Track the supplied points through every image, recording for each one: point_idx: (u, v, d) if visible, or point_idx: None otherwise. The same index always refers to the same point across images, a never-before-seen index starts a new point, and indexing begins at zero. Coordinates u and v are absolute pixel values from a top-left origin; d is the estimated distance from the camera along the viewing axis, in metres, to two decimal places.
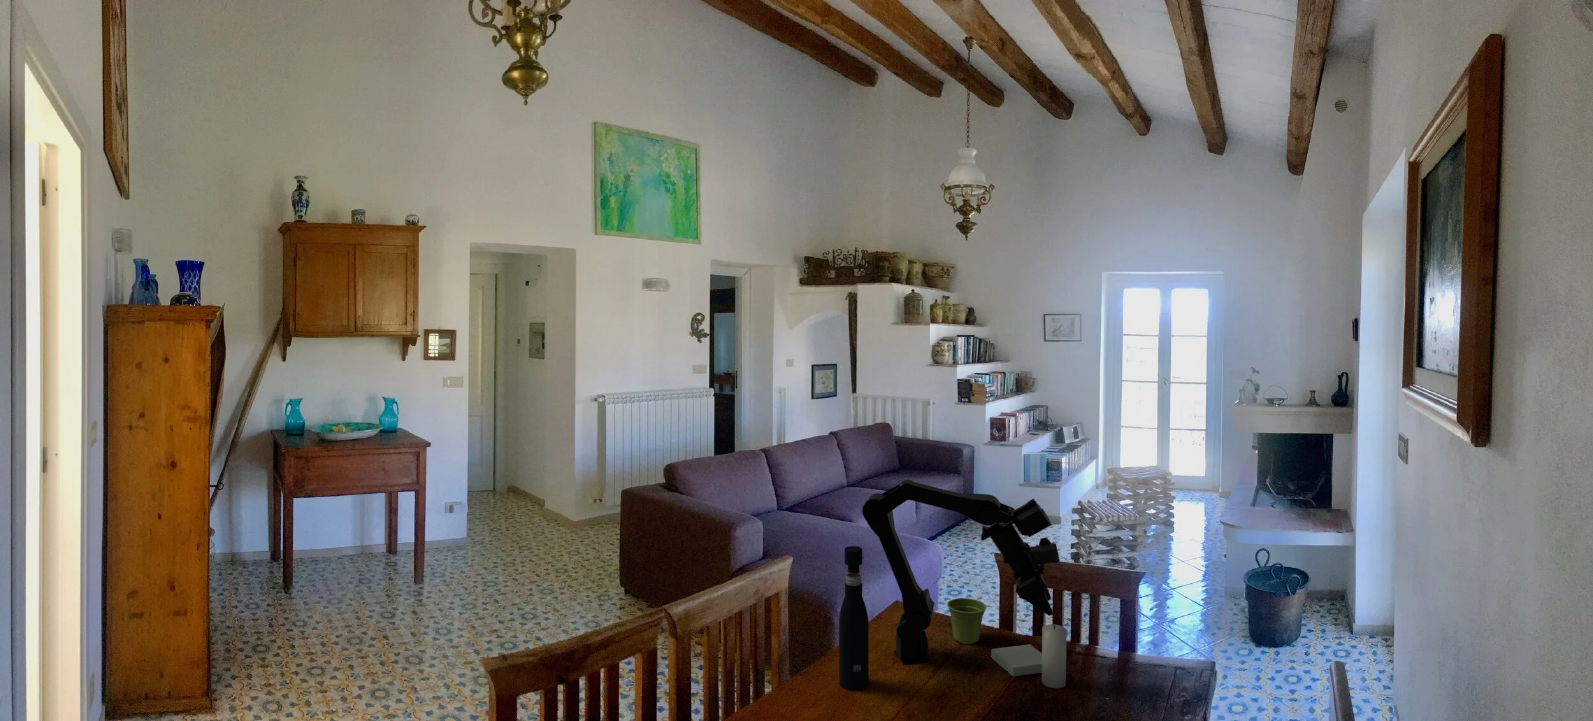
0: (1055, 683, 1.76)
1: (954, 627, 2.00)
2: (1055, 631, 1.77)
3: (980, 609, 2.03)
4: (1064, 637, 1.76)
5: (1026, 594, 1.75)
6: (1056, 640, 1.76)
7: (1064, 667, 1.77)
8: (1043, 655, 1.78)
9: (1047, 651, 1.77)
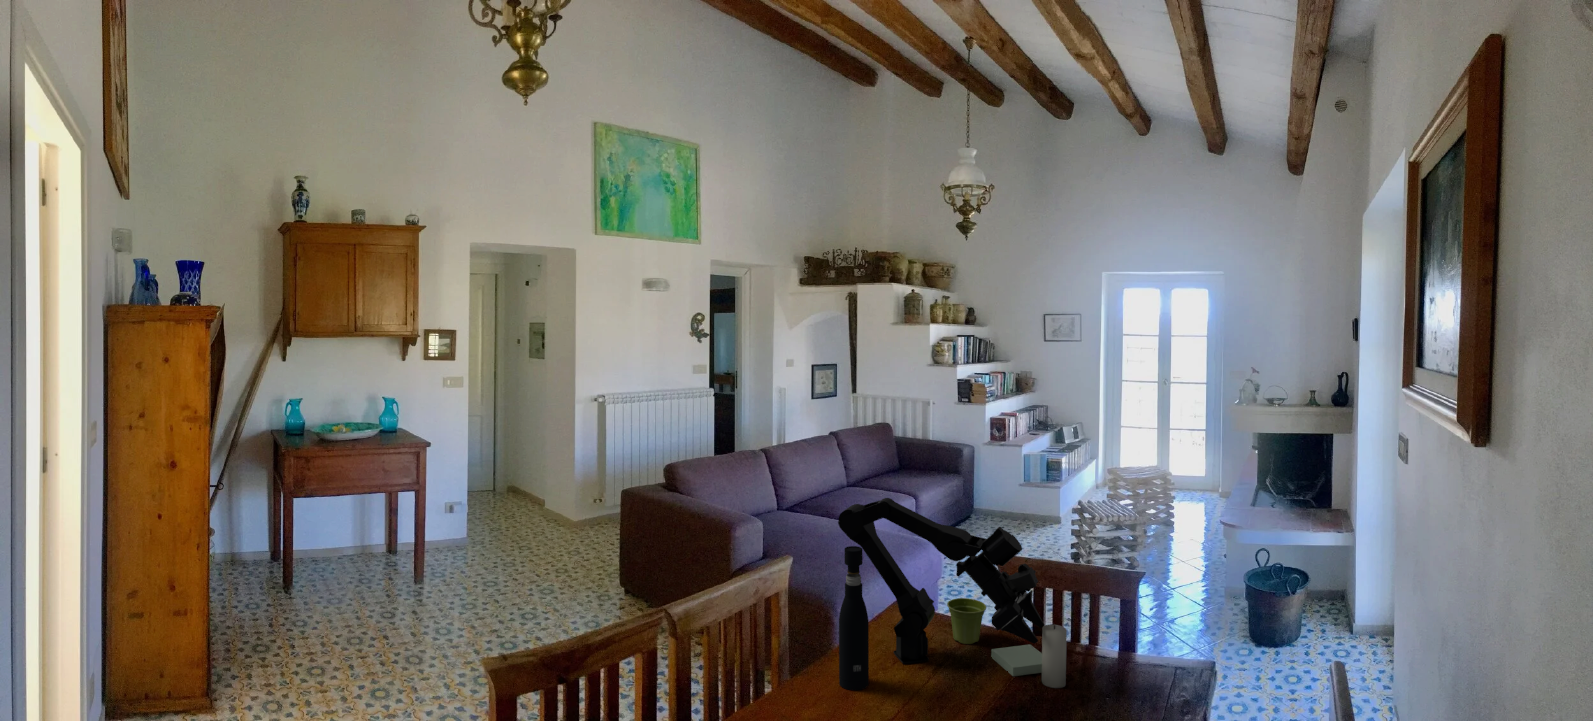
0: (1055, 683, 1.76)
1: (954, 627, 2.00)
2: (1055, 631, 1.77)
3: (980, 609, 2.03)
4: (1064, 637, 1.76)
5: (1001, 625, 1.73)
6: (1056, 640, 1.76)
7: (1064, 667, 1.77)
8: (1043, 655, 1.78)
9: (1047, 651, 1.77)
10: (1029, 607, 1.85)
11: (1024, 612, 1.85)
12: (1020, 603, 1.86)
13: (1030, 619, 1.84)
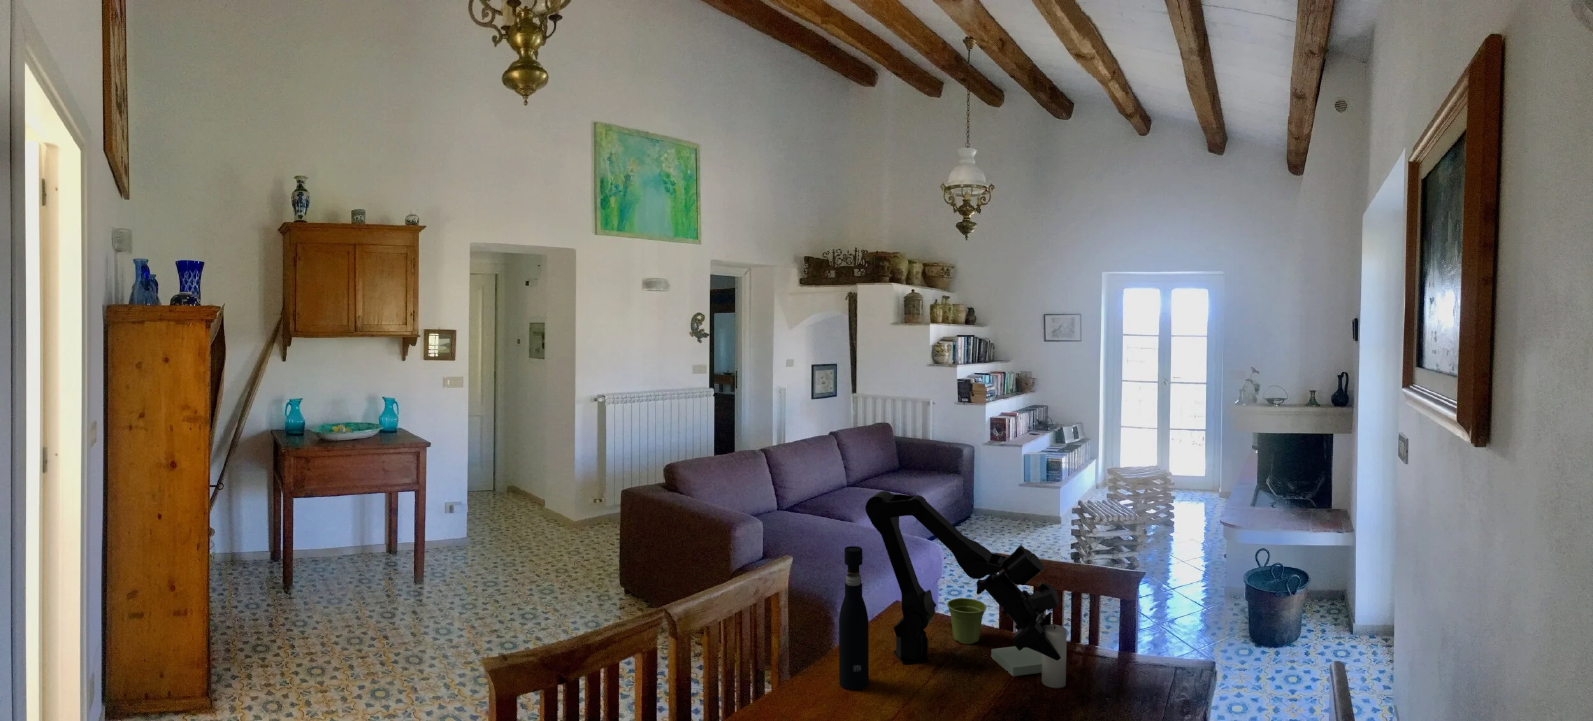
0: (1055, 683, 1.76)
1: (954, 627, 2.00)
2: (1055, 631, 1.76)
3: (980, 609, 2.03)
4: (1064, 637, 1.76)
5: (1023, 645, 1.72)
6: (1056, 640, 1.76)
7: (1064, 667, 1.77)
8: (1043, 655, 1.78)
9: None
10: None
11: None
12: None
13: None
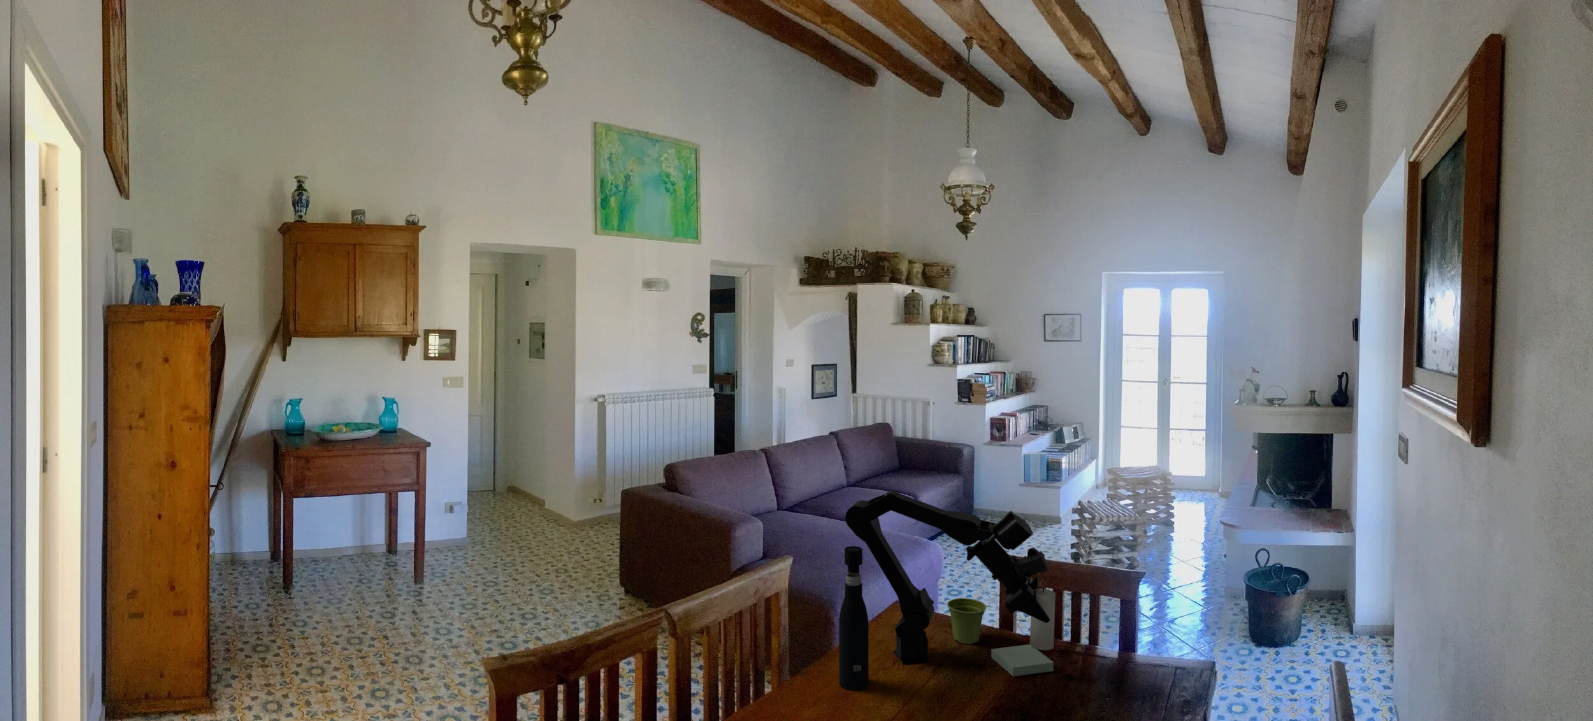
0: (1044, 645, 1.79)
1: (954, 627, 2.00)
2: (1045, 594, 1.80)
3: (980, 609, 2.03)
4: (1053, 600, 1.79)
5: (1016, 608, 1.74)
6: (1045, 603, 1.79)
7: (1053, 629, 1.80)
8: (1032, 618, 1.81)
9: None
10: None
11: None
12: None
13: None
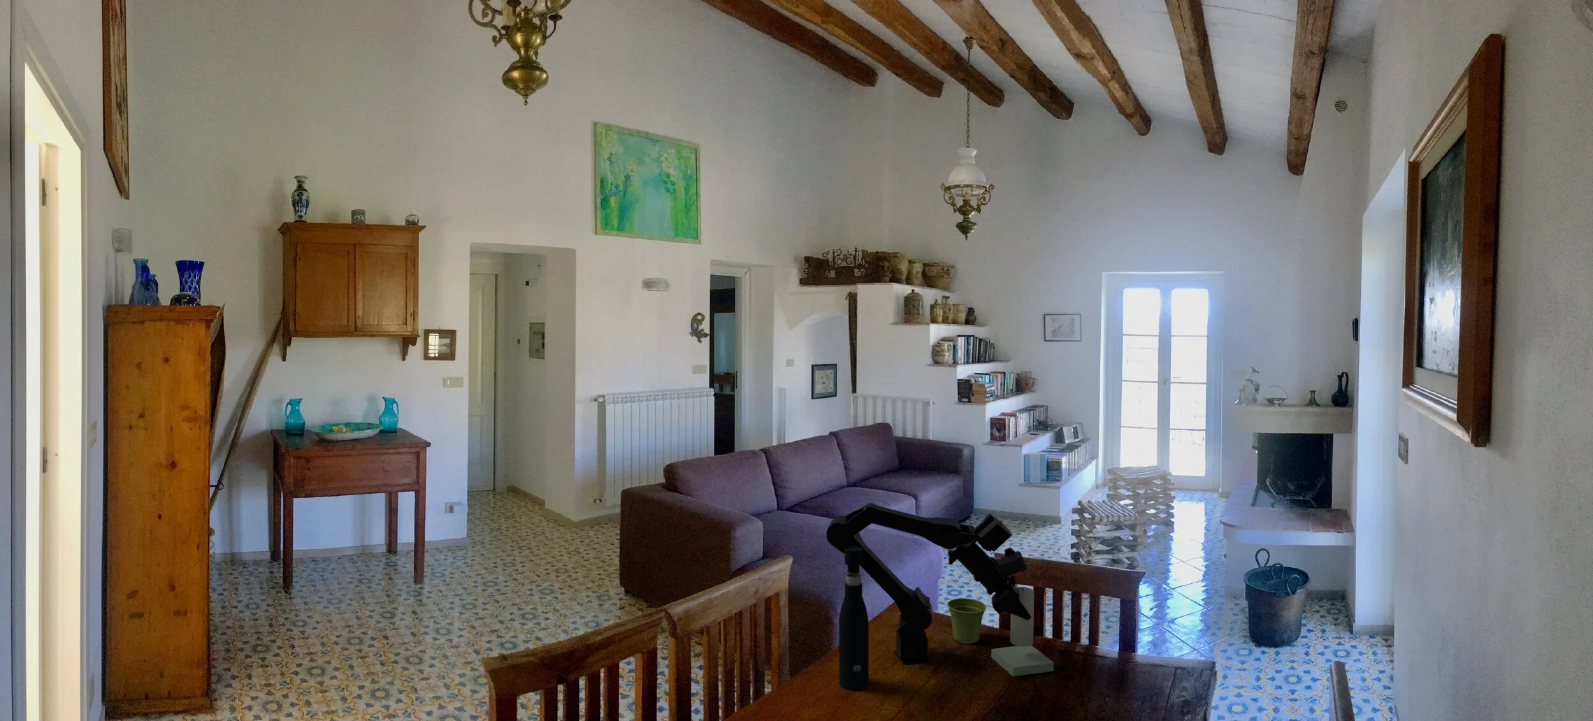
0: (1026, 642, 1.85)
1: (954, 627, 2.00)
2: (1025, 592, 1.85)
3: (980, 609, 2.03)
4: (1033, 597, 1.85)
5: (1003, 608, 1.78)
6: (1026, 601, 1.84)
7: (1032, 626, 1.86)
8: (1013, 616, 1.86)
9: None
10: None
11: None
12: None
13: None
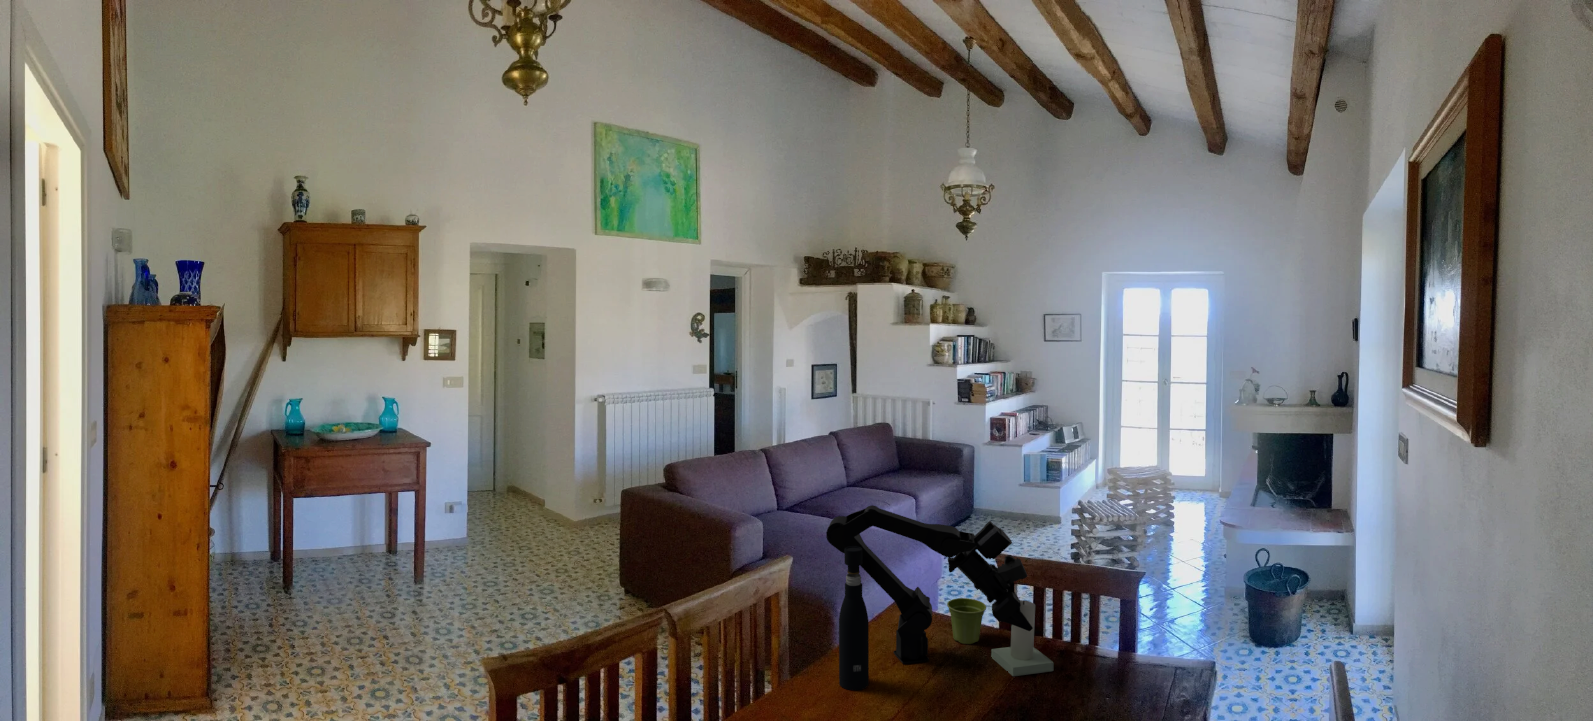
0: (1026, 655, 1.85)
1: (954, 627, 2.00)
2: (1026, 606, 1.85)
3: (980, 609, 2.03)
4: (1034, 611, 1.85)
5: (1003, 616, 1.78)
6: (1027, 615, 1.84)
7: (1033, 639, 1.86)
8: (1014, 630, 1.86)
9: None
10: None
11: None
12: None
13: None
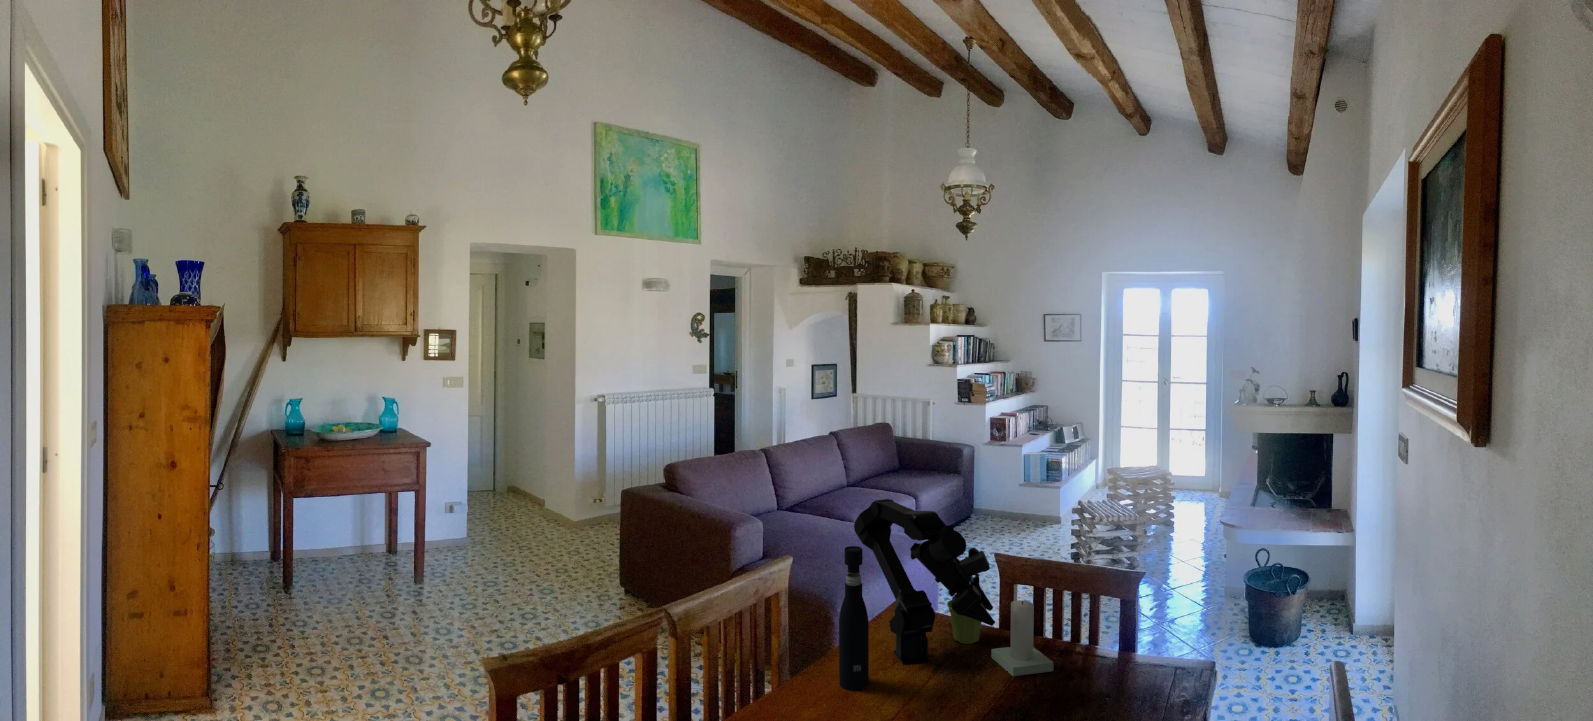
0: (1026, 655, 1.85)
1: (954, 627, 2.00)
2: (1025, 606, 1.86)
3: None
4: (1033, 611, 1.86)
5: (962, 609, 1.72)
6: (1026, 615, 1.85)
7: (1032, 639, 1.86)
8: (1013, 630, 1.86)
9: (1018, 626, 1.85)
10: (978, 591, 1.85)
11: None
12: None
13: None
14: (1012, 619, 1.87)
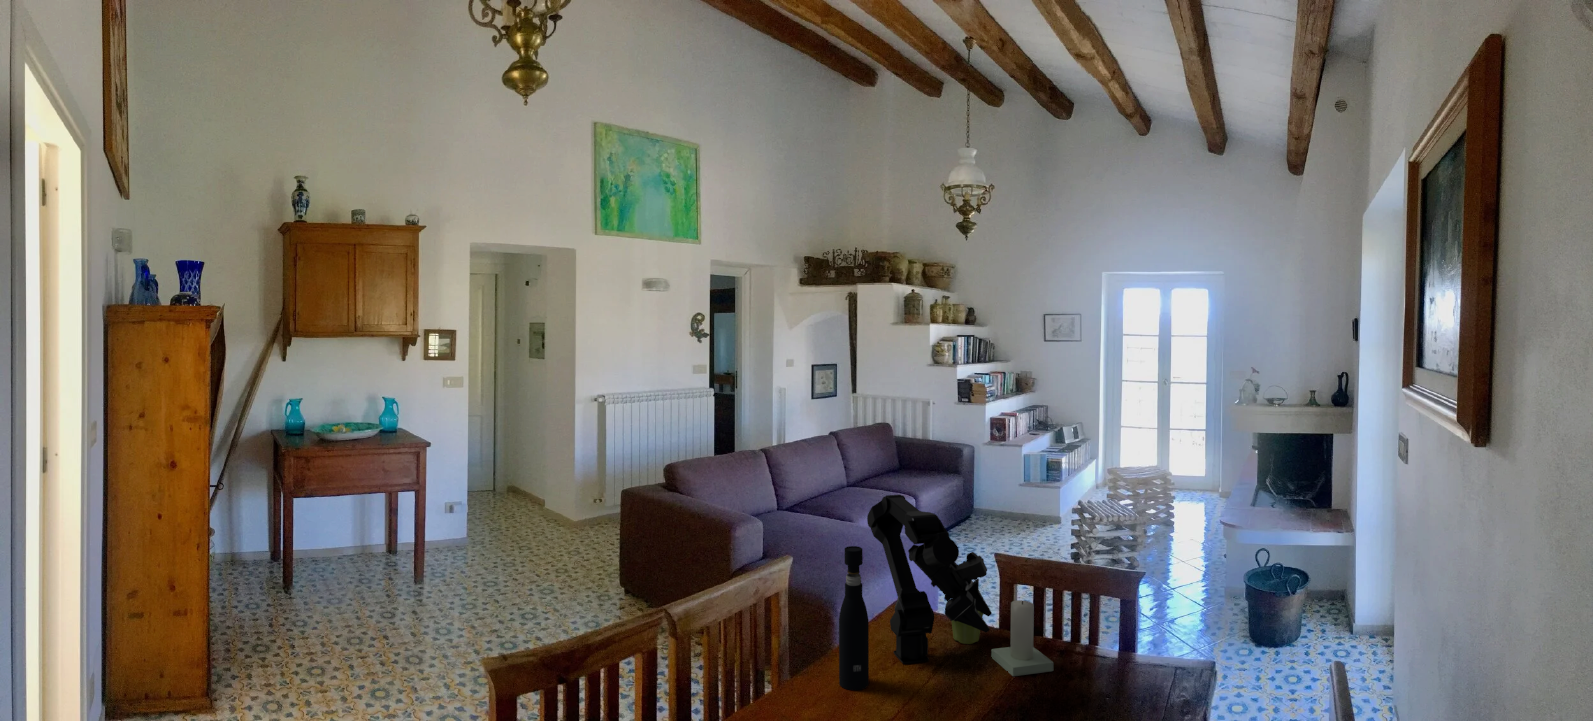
0: (1026, 655, 1.85)
1: (954, 627, 2.00)
2: (1025, 606, 1.86)
3: None
4: (1033, 611, 1.86)
5: (955, 615, 1.70)
6: (1026, 615, 1.85)
7: (1032, 639, 1.86)
8: (1013, 630, 1.86)
9: (1018, 626, 1.85)
10: (976, 596, 1.83)
11: None
12: None
13: (977, 608, 1.83)
14: (1012, 619, 1.87)
